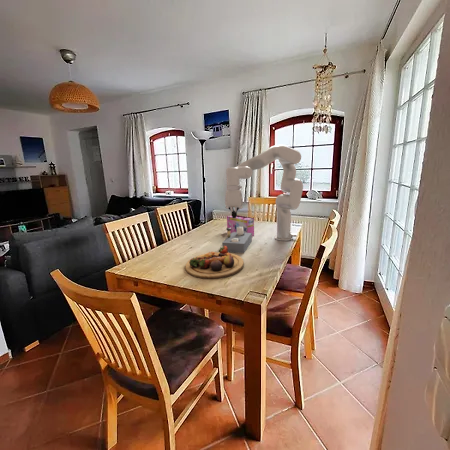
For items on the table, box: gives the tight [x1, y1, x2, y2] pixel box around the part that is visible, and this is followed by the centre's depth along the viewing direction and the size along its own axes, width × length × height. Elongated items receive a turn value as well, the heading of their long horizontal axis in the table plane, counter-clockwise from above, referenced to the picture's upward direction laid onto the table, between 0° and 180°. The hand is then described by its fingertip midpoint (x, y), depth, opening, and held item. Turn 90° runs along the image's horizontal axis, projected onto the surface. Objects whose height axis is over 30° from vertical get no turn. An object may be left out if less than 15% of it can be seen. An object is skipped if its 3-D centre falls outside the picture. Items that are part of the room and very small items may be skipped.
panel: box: [221, 232, 253, 254], centre depth 164 cm, size 14×24×6 cm, turn 163°
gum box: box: [226, 214, 255, 237], centre depth 192 cm, size 24×8×14 cm, turn 42°
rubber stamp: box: [226, 227, 231, 238], centre depth 165 cm, size 3×3×6 cm
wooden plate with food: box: [184, 246, 245, 280], centre depth 134 cm, size 32×32×8 cm
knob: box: [237, 227, 244, 236], centre depth 170 cm, size 4×4×7 cm
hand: (234, 217), depth 154 cm, fingers closed
